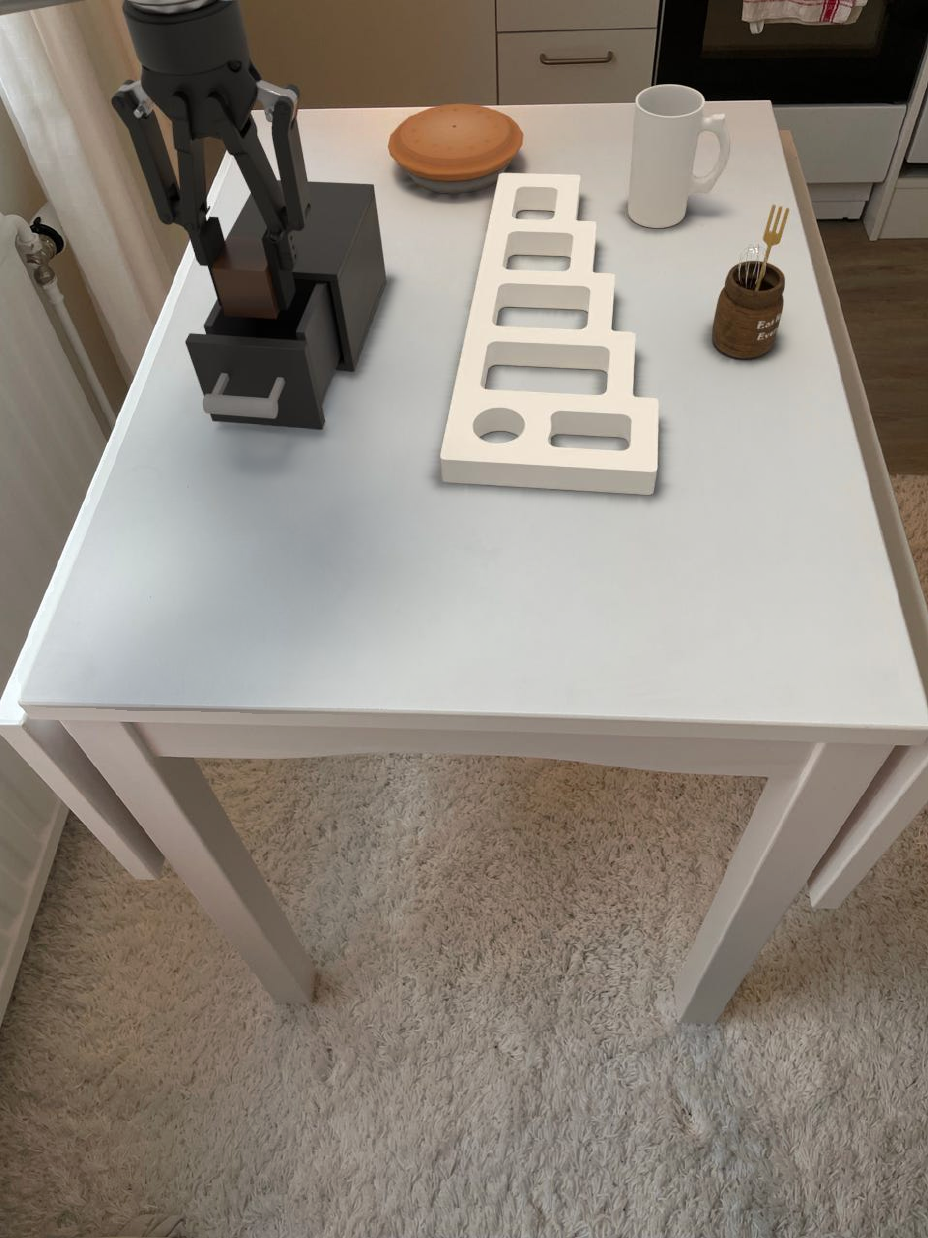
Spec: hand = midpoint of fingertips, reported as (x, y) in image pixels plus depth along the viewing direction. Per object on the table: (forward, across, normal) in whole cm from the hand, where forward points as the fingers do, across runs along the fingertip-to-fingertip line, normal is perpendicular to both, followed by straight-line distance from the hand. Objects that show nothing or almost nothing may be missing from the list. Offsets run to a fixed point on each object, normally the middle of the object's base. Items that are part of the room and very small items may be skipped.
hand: (257, 297), depth 81 cm
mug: (+11, -34, -34) cm, 50 cm away
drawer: (+10, 0, 0) cm, 10 cm away
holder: (+11, -25, -14) cm, 31 cm away
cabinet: (+11, 0, -12) cm, 16 cm away
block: (0, 0, 0) cm, 0 cm away
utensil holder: (+11, -42, -13) cm, 45 cm away
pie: (+11, -9, -41) cm, 44 cm away
